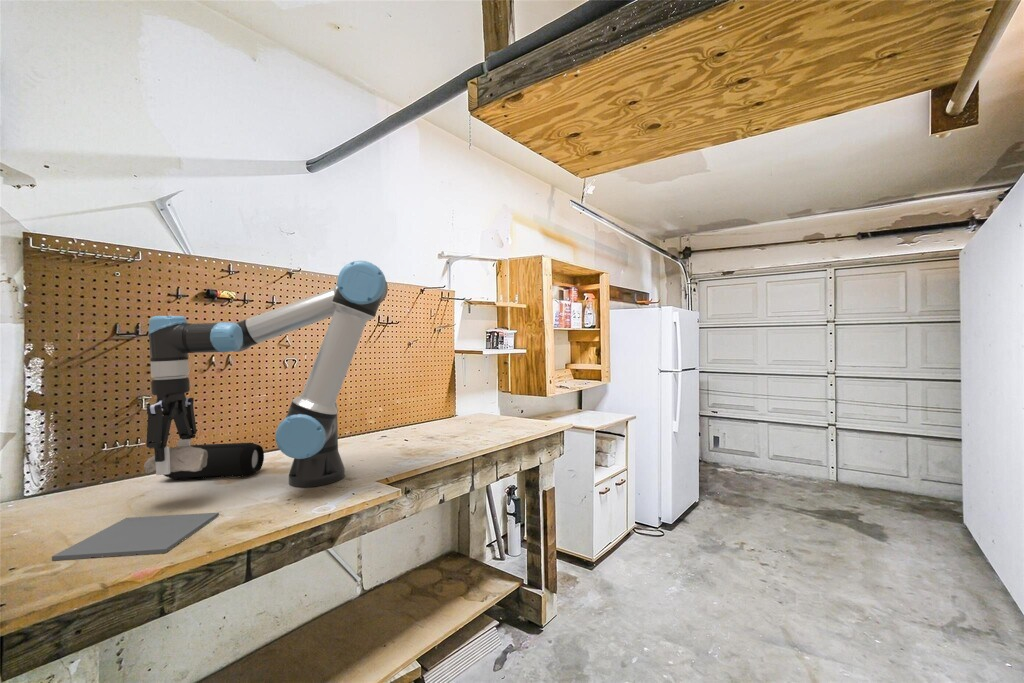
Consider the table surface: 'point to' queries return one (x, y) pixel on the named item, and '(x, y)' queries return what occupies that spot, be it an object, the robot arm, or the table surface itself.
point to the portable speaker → (226, 461)
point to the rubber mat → (138, 536)
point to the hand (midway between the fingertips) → (174, 469)
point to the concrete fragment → (181, 459)
